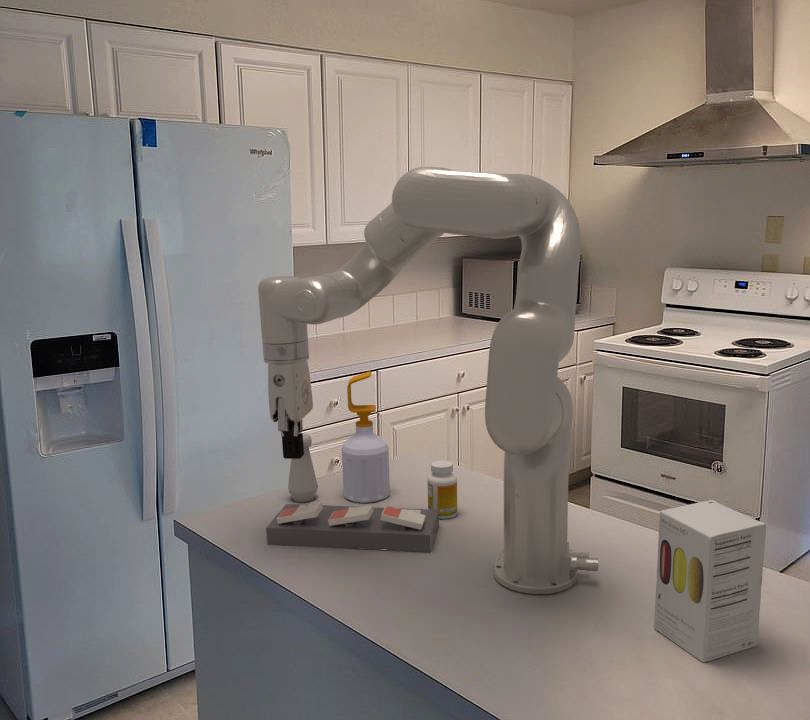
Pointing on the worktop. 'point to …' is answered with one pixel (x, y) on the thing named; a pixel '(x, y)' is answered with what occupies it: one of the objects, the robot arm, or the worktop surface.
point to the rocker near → (403, 517)
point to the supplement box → (709, 579)
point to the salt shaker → (303, 475)
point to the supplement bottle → (442, 489)
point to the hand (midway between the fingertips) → (293, 457)
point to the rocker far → (299, 513)
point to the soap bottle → (364, 456)
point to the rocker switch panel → (354, 531)
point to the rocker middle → (350, 515)
